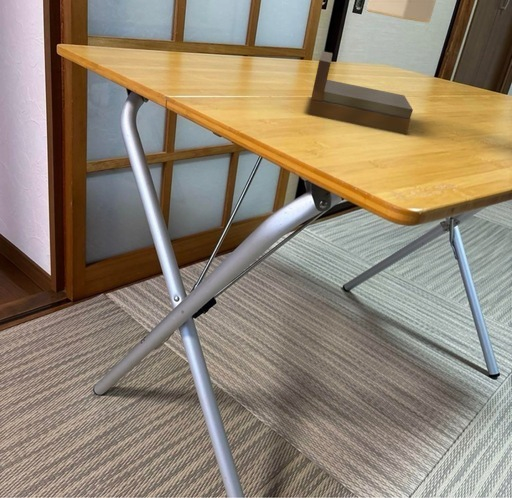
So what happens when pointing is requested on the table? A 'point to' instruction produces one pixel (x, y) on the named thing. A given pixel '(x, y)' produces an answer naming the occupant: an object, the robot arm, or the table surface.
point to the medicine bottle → (403, 9)
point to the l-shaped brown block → (357, 103)
